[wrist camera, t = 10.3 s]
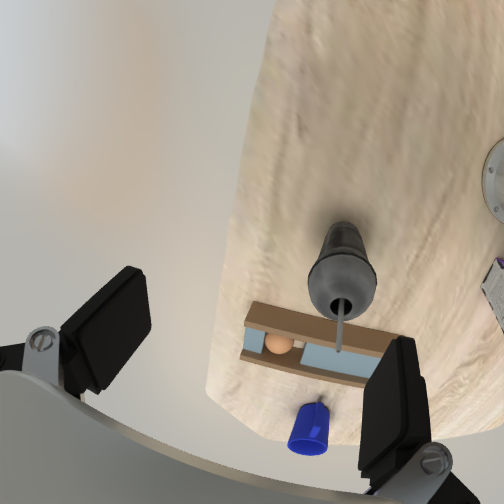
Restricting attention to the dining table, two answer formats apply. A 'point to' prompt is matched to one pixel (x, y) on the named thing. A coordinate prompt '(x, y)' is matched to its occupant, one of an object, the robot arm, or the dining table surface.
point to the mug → (310, 430)
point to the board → (314, 346)
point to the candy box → (495, 290)
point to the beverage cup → (342, 277)
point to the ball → (278, 343)
